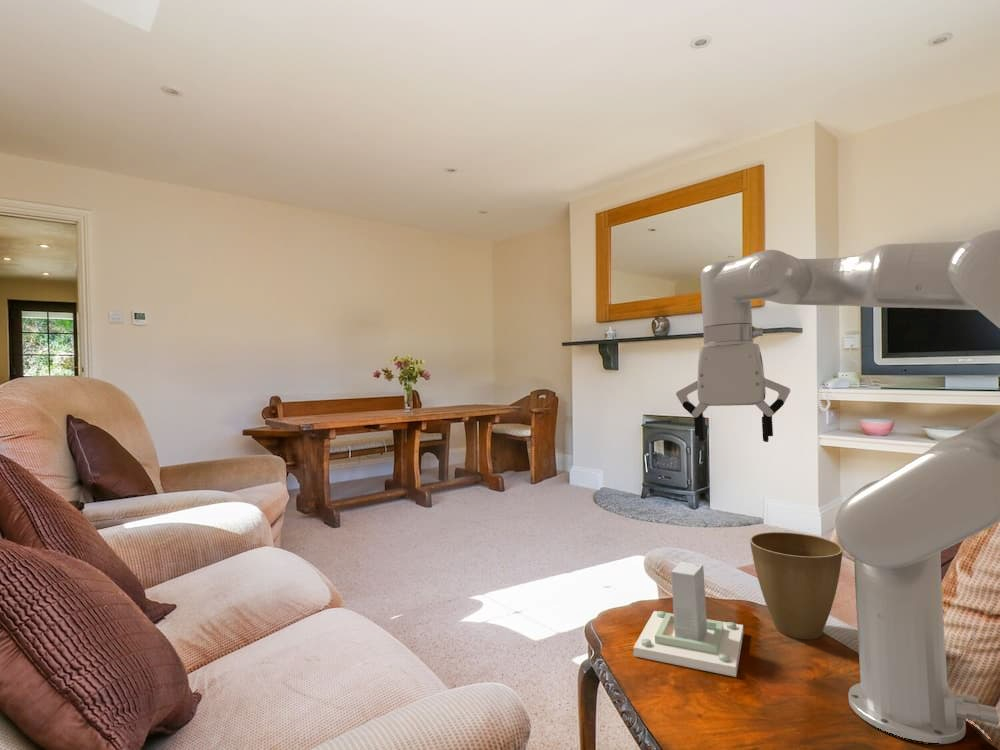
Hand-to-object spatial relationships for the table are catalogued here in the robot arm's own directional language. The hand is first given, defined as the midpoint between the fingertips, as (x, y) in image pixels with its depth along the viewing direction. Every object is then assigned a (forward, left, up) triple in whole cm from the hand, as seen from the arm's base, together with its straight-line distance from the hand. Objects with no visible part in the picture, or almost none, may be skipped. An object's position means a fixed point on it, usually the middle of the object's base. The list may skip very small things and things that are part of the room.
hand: (733, 440), depth 88 cm
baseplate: (+9, -3, -36) cm, 38 cm away
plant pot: (-8, -16, -36) cm, 41 cm away
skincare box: (+9, -3, -35) cm, 36 cm away
